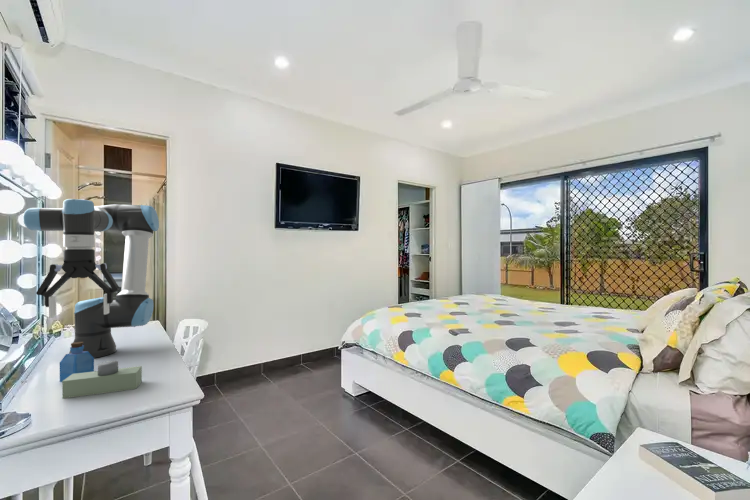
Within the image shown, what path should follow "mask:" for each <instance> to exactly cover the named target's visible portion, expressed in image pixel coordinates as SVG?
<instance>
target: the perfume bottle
mask: <svg viewBox="0 0 750 500" xmlns="http://www.w3.org/2000/svg"><path fill="white" fill-rule="evenodd" d="M83 349H84V345H83V342H75V343H73V342H71V343H70V347H69V352H70V351H71V353H67V354H65V355H64V356H63V357H62V359H61V360H60V362H59V382H60V383H61V382H62V381H63V380H65V379H66V378H67V377H69V376H70V375H72V374H75V373H84V372H93V371H95V358H93V356H92V355H91V354H90V353H89V352H88V351H83Z"/></svg>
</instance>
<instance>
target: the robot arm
mask: <svg viewBox="0 0 750 500" xmlns="http://www.w3.org/2000/svg"><path fill="white" fill-rule="evenodd" d="M22 220H23V225H25V227H26V228H27V229H28V230H30V231H37V232H38V231H39V232H43V231H46V232H49V231H50V232H51V231H52V232H57V231H58V232H62V231H63V233H62V238H63V239H62V240H63V241H62V245H63V248H65V249H64V250H62V251H63V264H58V263H54V264H53V263H52V264H50V265H49V272H48V273H47V275H46V276H45V277H44V280H43V281H42V282H41V284H40V286H39V288H38V289H37V291H36V295H37V296H42V297H44V307H45V308H48V318H49V319H53V318H56V317H57V295H55V293H56V292H57V291H58V290H59V289H60V288H61V287H62V286H63V285H65V283H66V282H67V281H68V280H70V279H78V278H79V279H86V278H88V279H90V280H91V281H93V282H94V284H96V285H97V286H98V287H99V288H101V290H103V291H104V294H103V296H101V297H97V298H96V297H95V298H91V299H85V300H80V301H78V302H76V303H75V305H74V313H73V315H74V340H73V342H72V343H75V342H83V345H84V349H83V351H88V352H89V353H90V354H91V355H92V356H93V358H94V359H96V358H100V357H106V356H109V355H112V354H114V353H116V352H117V345H116V342H115V340H114V337H113V335H112V329H114V328H135V327H143V326H146V325H147V324H148V323H150V320H151V318H152V316H153V312H154V305H155V304H154V300H153V298H150V294H149V293H148V292H147V291H146V283H147V272H148V271H147V270H148V255H149V241H150V239H151V238H152V237H153V236H154V232H157V231H159V229H160V221H159V216H158V213H157V211H156V208H154V207H153V206H152V205H147V204H146V205H143V204H117V203H116V204H115V203H114V204H106V205H95V204H94V202H93V201H92V200H89V199H80V198H79V199H78V198H67V199H65V200H63V202H62V208H61V207H60V208H59V207H58V208H57V207H56V208H55V207H54V208H53V207H29V208H27V209H26V210H25V211H24V212H23V215H22ZM107 230H108V231H121V234H122V235H123V236H124V237H125V240H124V241H125V243H124V253H123V265H122V277H121V278H122V279H121V287H120V286H119V285H118V282H116V280H115V278H114V277H113V275H112V274H111V272H110V271H109V268H108V263H106V262H103V263H98V264H96V262H95V261H96V258H95V256H96V252H95V249H93V248H95V245H96V244H95V240H96V239H95V232H96V233H97V232H99V233H100V232H105V231H107ZM96 269H98V271H100V272H101V274H102V275H103V277H104V278H105V280H106V281H107V283H106V282H105V281H104V280H103V279H101V278H100V277H99V275H98V274H97V273H96V272H95V271H96ZM61 270H62V271H63V272H64V273H63V275H62V276H61V277H60V278H58V280H57V281H56V282H55V283H53V285H51V284H52V282H54V279H55V277H56V276H57V275H58V272H60V271H61ZM50 286H51V287H50ZM49 287H50V288H49ZM120 288H121V289H120ZM118 291H119V293H117V294H116V297H115V299H114V293H115V292H118ZM69 353H71V351H70V350H69ZM69 353H68V354H69Z"/></svg>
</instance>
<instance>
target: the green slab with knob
mask: <svg viewBox="0 0 750 500" xmlns="http://www.w3.org/2000/svg"><path fill="white" fill-rule="evenodd" d="M142 370H143V367H142V365H141V366H140V365H139V366H132V367H122V368H119V360H108V361H103V362H100V363H98V364H97V370H94V371H93V372H84V373H75V374H72V375H70V376H69V377H67V378H66V379H65V380H63V381H62V385H61V387H62V388H61V389H62V392H61V393H62V397H61V398H62V399H69V398H76V397H82V396H83V397H85V396H91V395H99V394H108V393H114V392H121V391H123V392H124V391H129V390H137V388H138V387H139V386H140V384H141V383H142V381H143V380H142V379H143V378H142V377H143V376H142V375H143V373H142V372H143V371H142Z"/></svg>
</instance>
